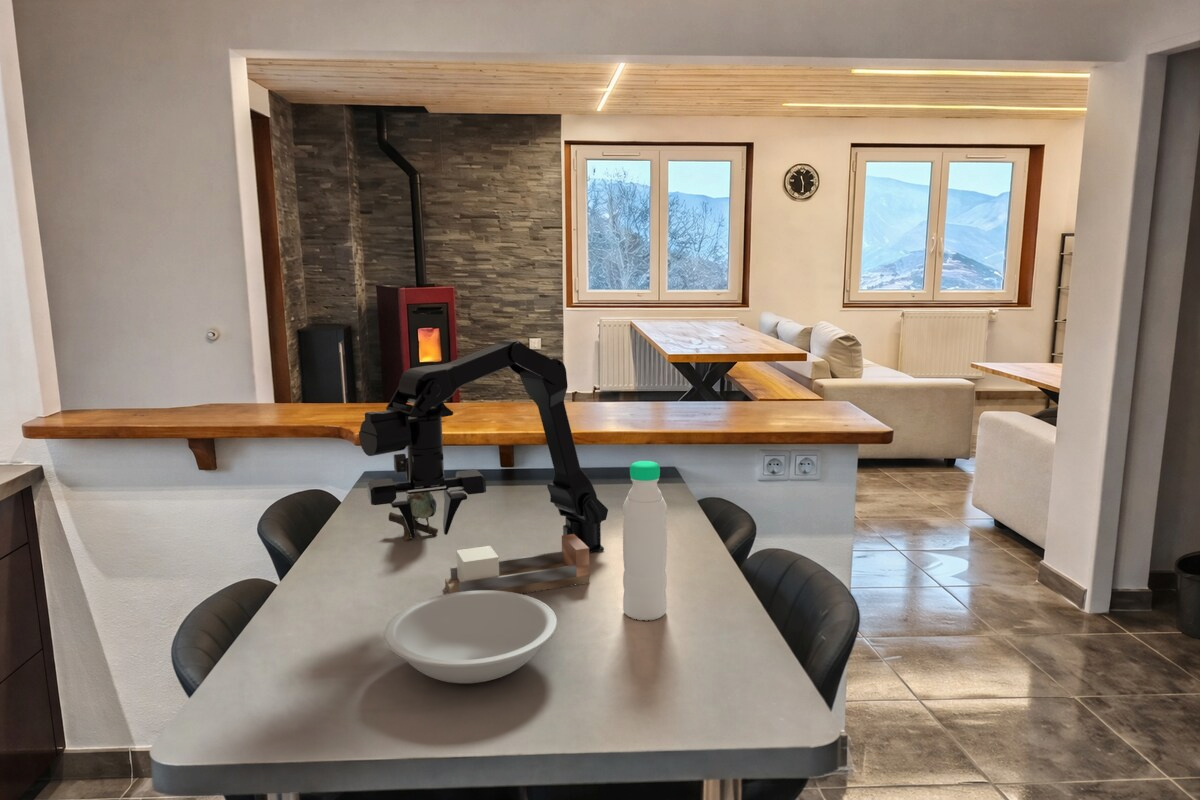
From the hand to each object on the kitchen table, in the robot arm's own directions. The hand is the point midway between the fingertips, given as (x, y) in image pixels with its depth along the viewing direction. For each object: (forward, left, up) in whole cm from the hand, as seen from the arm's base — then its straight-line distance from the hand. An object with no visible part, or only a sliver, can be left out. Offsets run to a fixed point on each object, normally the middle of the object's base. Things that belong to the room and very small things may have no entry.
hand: (429, 536), depth 143 cm
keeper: (-8, 0, -9) cm, 12 cm away
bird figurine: (-2, -33, -11) cm, 35 cm away
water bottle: (-31, +19, -11) cm, 38 cm away
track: (-15, 0, -11) cm, 19 cm away
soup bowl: (-1, +26, -11) cm, 29 cm away
